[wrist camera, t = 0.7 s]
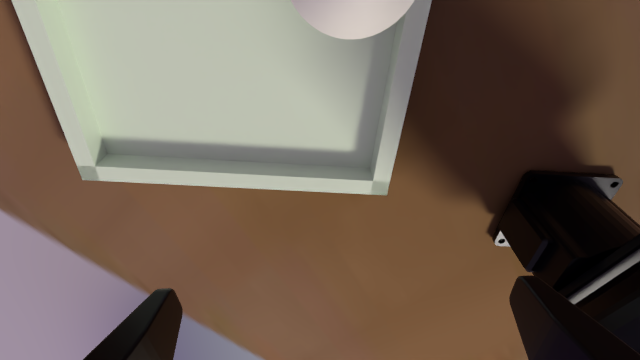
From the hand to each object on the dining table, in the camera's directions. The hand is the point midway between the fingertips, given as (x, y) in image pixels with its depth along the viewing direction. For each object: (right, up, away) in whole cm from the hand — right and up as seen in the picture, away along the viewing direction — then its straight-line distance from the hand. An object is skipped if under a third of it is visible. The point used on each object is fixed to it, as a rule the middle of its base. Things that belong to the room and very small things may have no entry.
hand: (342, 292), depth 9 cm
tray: (-5, +10, +8) cm, 14 cm away
